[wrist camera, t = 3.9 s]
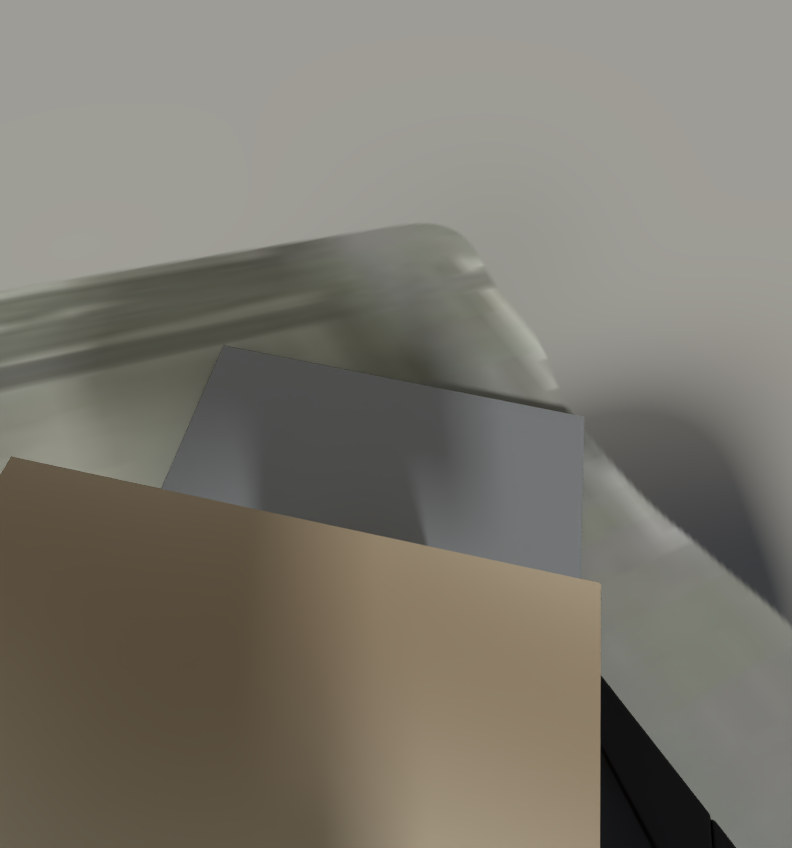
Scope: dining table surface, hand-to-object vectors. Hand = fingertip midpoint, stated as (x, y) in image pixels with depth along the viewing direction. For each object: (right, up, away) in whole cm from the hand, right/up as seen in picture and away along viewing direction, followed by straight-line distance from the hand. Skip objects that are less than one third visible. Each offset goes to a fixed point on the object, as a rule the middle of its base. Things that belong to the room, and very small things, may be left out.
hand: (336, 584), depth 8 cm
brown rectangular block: (0, -3, +6) cm, 7 cm away
